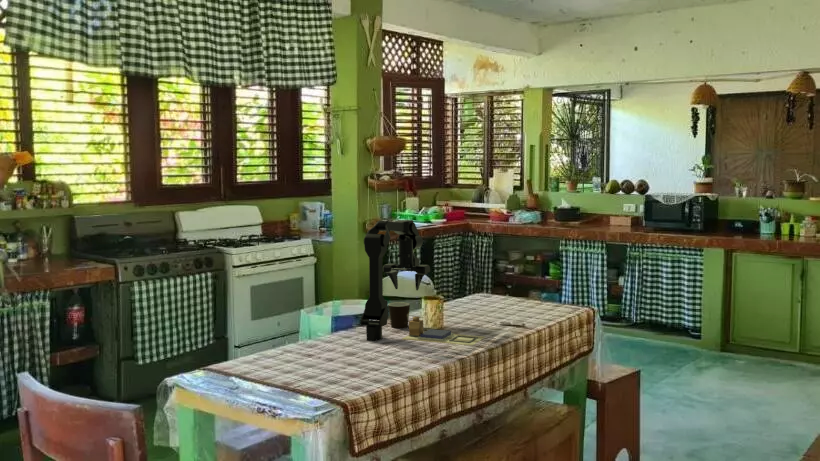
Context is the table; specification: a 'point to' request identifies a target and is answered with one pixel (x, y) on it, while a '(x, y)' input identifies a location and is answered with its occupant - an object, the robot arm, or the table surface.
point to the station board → (453, 339)
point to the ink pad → (436, 335)
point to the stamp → (415, 327)
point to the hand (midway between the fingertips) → (406, 289)
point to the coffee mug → (399, 314)
